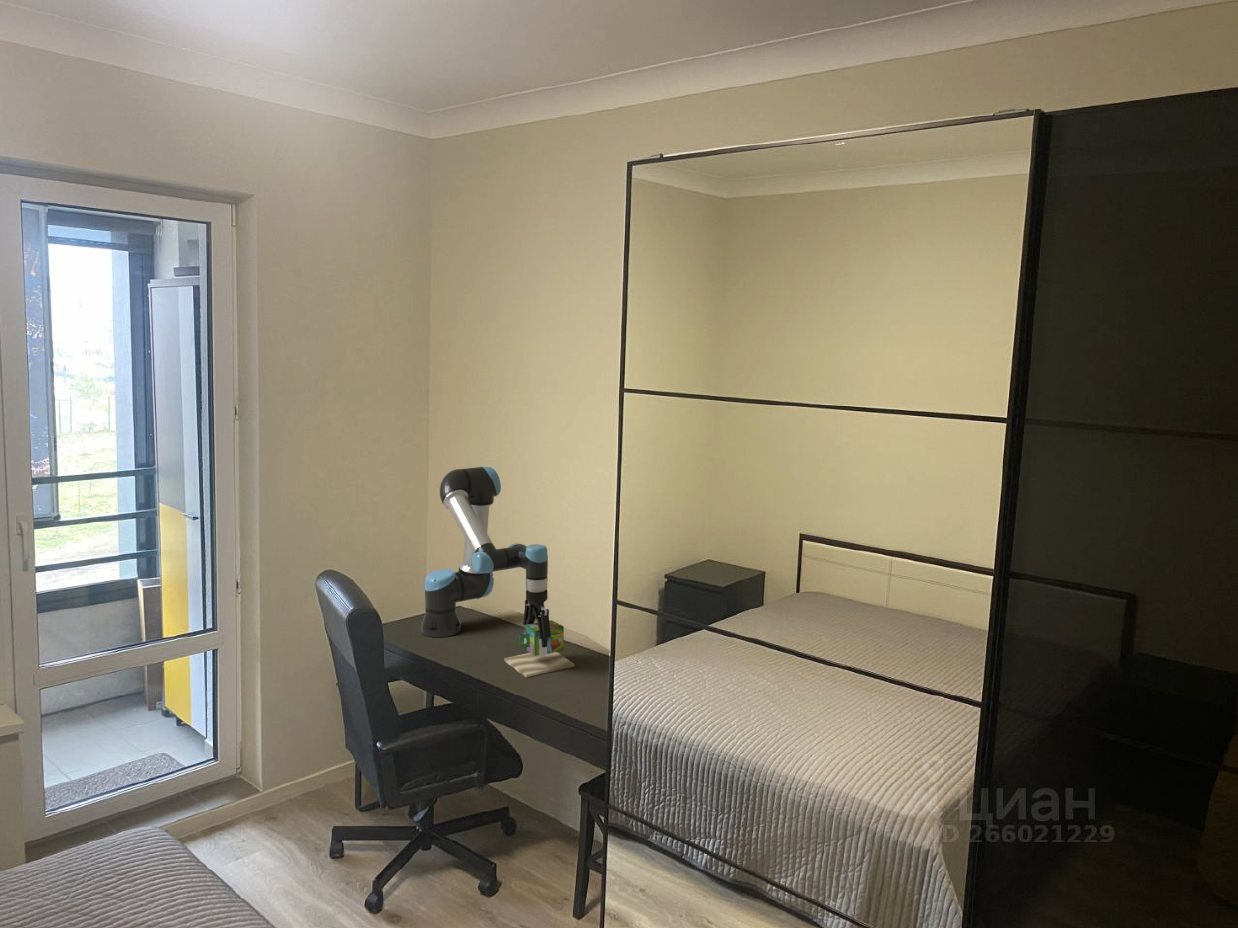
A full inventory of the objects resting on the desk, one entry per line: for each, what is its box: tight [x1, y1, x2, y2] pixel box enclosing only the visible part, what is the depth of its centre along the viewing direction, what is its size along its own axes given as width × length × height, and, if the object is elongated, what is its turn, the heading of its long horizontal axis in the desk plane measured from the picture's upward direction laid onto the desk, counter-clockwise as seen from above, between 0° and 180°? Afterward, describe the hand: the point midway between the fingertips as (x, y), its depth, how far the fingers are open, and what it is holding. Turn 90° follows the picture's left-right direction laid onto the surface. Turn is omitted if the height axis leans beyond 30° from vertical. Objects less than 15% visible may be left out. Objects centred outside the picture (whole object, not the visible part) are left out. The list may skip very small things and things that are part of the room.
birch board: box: [503, 652, 575, 678], centre depth 310 cm, size 17×19×1 cm
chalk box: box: [518, 619, 565, 656], centre depth 309 cm, size 9×9×15 cm
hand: (536, 650), depth 309 cm, fingers closed on chalk box, 9 cm apart
